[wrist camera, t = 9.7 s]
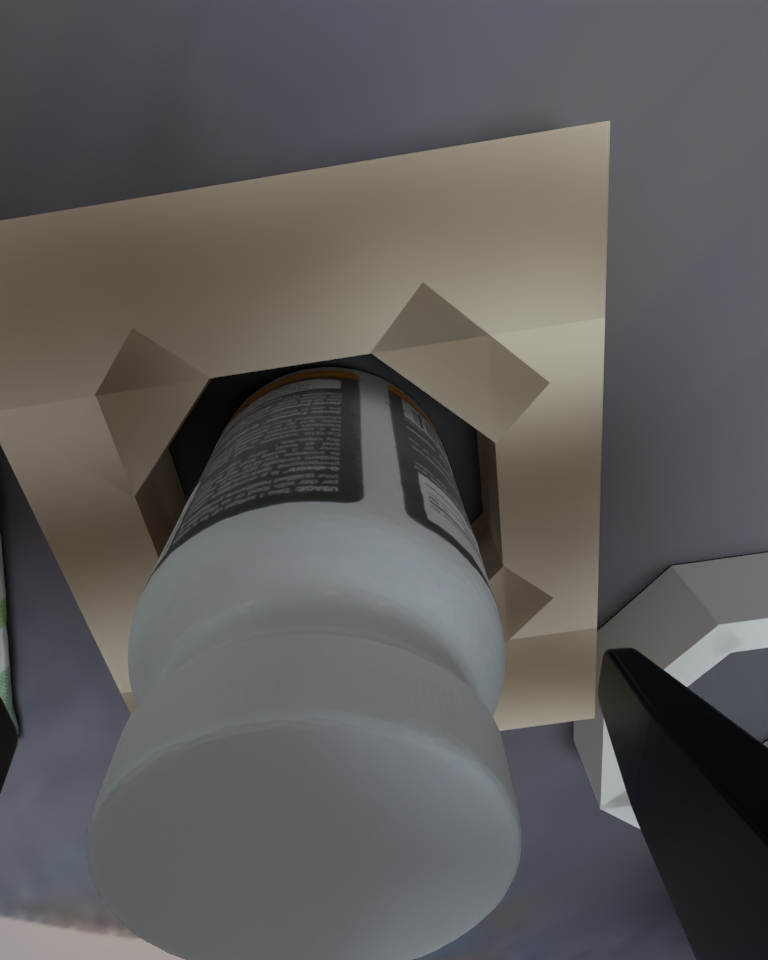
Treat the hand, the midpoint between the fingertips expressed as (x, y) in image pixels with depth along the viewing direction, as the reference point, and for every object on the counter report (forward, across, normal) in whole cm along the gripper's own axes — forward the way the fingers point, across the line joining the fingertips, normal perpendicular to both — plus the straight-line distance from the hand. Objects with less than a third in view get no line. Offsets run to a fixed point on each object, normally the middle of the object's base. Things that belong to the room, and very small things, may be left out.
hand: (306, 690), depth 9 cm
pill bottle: (+7, 0, 0) cm, 7 cm away
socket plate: (+7, 0, 0) cm, 7 cm away
